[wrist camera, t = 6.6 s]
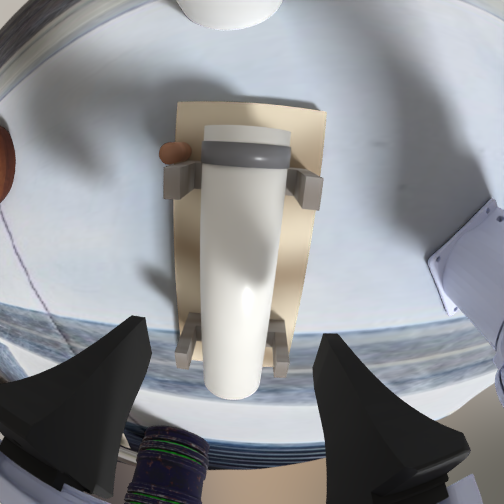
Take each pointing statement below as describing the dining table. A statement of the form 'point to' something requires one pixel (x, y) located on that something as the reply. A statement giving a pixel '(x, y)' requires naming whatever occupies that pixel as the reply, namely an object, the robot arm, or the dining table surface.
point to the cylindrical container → (228, 12)
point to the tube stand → (293, 220)
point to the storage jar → (169, 468)
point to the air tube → (239, 250)
